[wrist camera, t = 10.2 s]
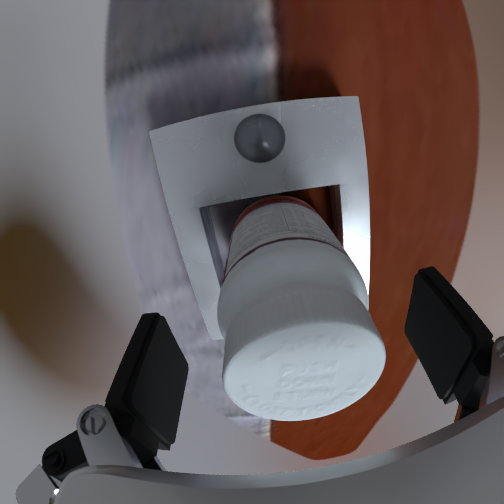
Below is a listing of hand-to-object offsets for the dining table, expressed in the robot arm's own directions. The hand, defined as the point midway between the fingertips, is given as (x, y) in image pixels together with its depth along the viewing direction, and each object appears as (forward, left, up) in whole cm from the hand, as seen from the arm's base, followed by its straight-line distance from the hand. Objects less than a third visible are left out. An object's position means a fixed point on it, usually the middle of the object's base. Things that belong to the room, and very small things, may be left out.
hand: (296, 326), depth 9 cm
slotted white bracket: (+1, 0, -9) cm, 9 cm away
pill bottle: (0, 0, -9) cm, 9 cm away
